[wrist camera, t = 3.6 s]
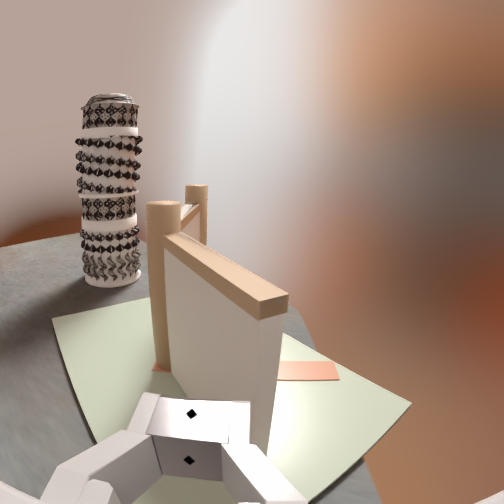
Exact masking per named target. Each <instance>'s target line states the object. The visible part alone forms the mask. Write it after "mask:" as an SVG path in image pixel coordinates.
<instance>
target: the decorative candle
mask: <svg viewBox="0 0 504 504" xmlns="http://www.w3.org/2000/svg"><path fill="white" fill-rule="evenodd" d="M138 107H139V106H138V105H135V103H134V101H133V99H132V98H131V97H130V96H128V95H124V94H100V95H96V96H94V97H91V98H90V99H89V101H88V103H87V104H86V106H84V107H82V108H81V110H83V128H82V130H81V139H76V140H75V143H76V144H78V145H81V146H82V147H83V150H82V151H79V152H78V153H76V159H78V160H79V161H80V160H81V161H82V162H80V163H79V164H77V166H76V170H77V171H79V172H80V173H82V177H80V178H79V179H78V180H77V186H79V187H81V189H80V190H79V191H78V192H79V197H81V198H82V213H83V216H82V217H81V218H82V230H81V232H80V236H81V237H83V238H84V240H83V241H82V242H81V247H82V248H84V250H85V251H84V253H83V255H82V261H83V262H84V267H83V271H84V272H85V273H86V274H85V280H86V282H87V283H88V284H90V285H92V286H96V287H105V288H112V287H120V286H125V285H128V284H131V283H133V282H135V281H137V280H138V279H139V278H140V276H141V272H140V270H139V267H140V266H141V263H140V260H139V256H140V255H141V253H140V252H139V249H138V248H137V247H136V246H137V245H138V243H139V242H140V240H139V239H138V237H137V236H135V235H137V233H138V232H139V228H138V227H137V226H136V224H137V215H136V213H135V194H137V193H138V189H136V188H134V183H135V181H136V180H138V179H140V175H138V174H136V173H135V172H134V171H135V170H137V169H138V168H140V166H141V165H140V163H138V162H137V161H135V159H134V157H135V155H136V156H137V155H138V154H140V153H141V152H142V149H141V148H139V147H138V146H137V144H139V143H140V142H141V141H142V140H143V139H142V137H141V136H138V129H137V113H138Z"/></svg>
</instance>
